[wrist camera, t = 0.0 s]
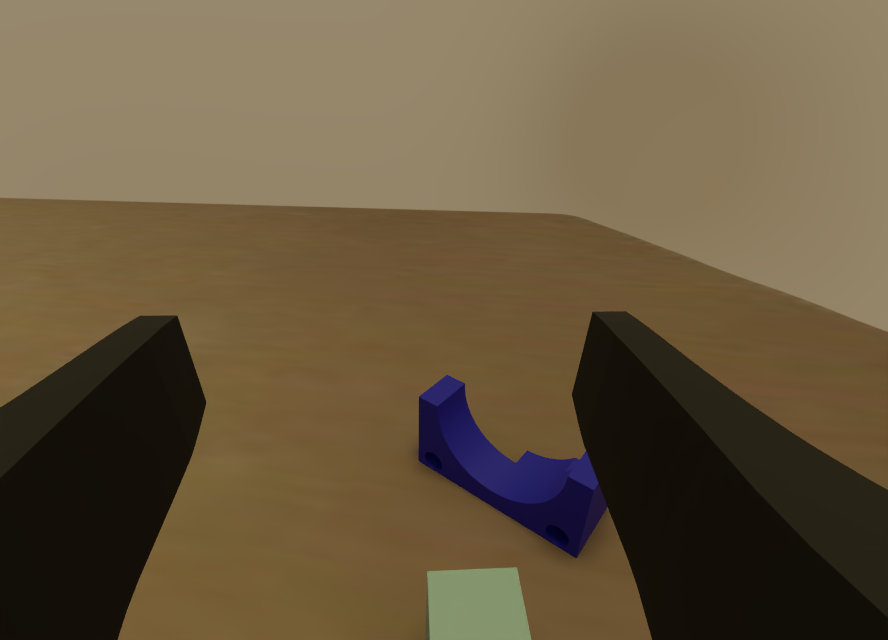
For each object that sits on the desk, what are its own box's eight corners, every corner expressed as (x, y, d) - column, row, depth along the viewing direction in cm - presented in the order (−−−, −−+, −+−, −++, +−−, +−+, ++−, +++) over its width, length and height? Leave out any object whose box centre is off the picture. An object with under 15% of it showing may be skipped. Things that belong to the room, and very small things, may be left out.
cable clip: (605, 510, 33) (625, 442, 30) (575, 560, 30) (594, 490, 27) (456, 428, 39) (459, 365, 36) (418, 462, 36) (419, 396, 33)
